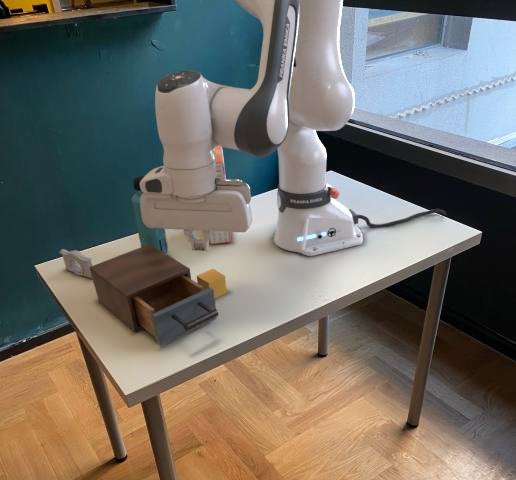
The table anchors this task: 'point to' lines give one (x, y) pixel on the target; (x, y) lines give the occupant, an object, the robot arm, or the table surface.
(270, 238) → the table surface
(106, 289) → the cabinet
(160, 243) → the beverage bottle
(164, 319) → the drawer
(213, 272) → the block
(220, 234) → the cracker box
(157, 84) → the robot arm
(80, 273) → the garden wall model
